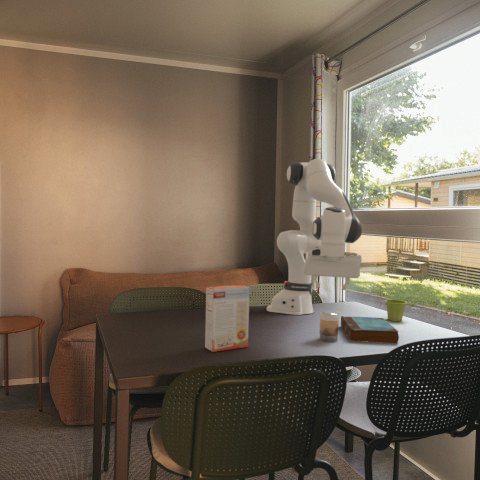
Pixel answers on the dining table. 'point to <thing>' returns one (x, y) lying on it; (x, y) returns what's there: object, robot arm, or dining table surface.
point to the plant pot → (395, 309)
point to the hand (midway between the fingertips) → (330, 288)
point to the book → (369, 329)
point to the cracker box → (227, 317)
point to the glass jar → (329, 326)
